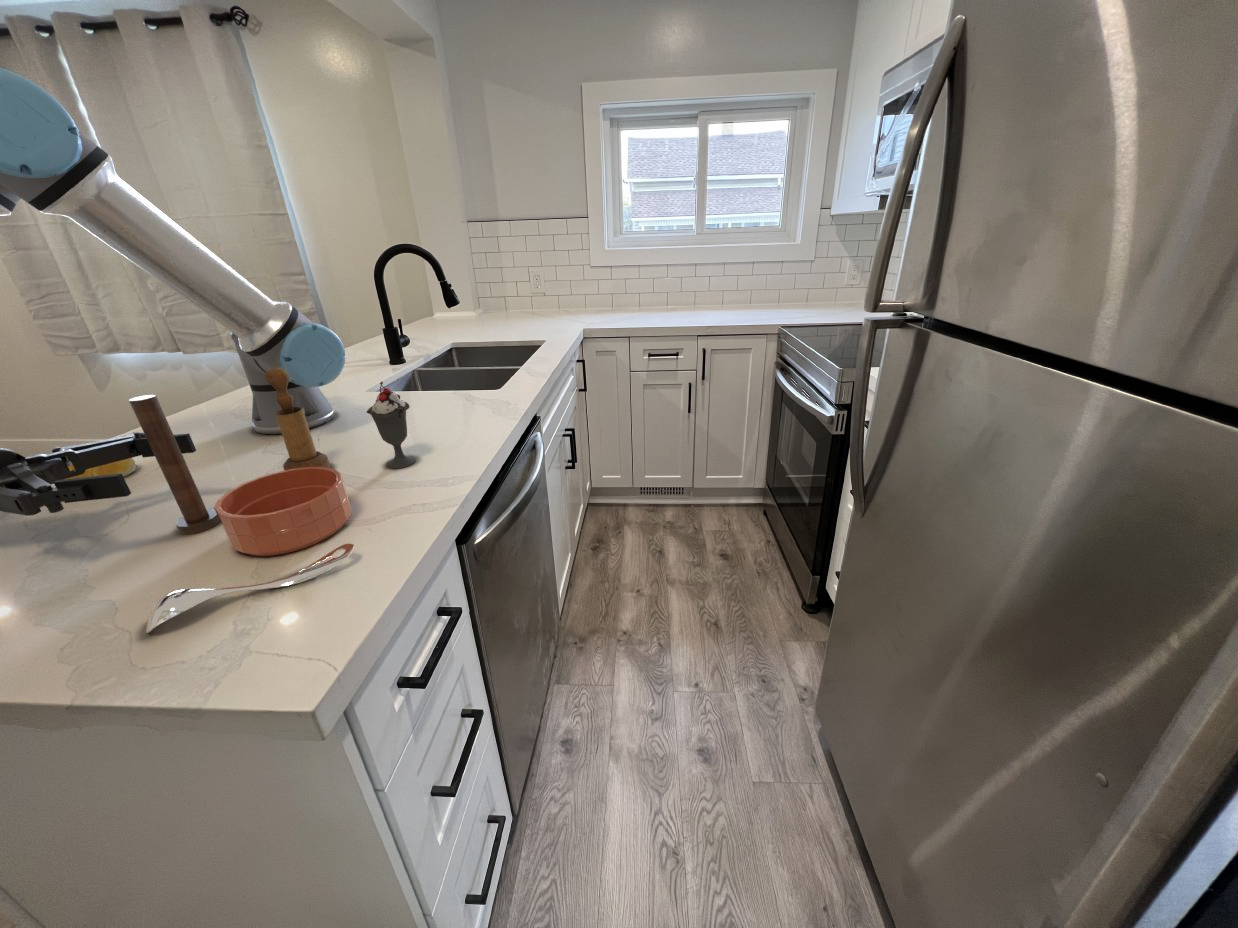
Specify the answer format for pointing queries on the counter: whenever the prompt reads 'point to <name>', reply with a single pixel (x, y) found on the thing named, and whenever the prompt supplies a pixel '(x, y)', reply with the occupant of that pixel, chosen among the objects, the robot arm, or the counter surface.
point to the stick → (173, 466)
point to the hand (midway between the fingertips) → (161, 461)
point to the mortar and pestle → (294, 426)
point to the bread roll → (109, 469)
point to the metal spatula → (235, 589)
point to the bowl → (284, 510)
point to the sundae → (392, 424)
